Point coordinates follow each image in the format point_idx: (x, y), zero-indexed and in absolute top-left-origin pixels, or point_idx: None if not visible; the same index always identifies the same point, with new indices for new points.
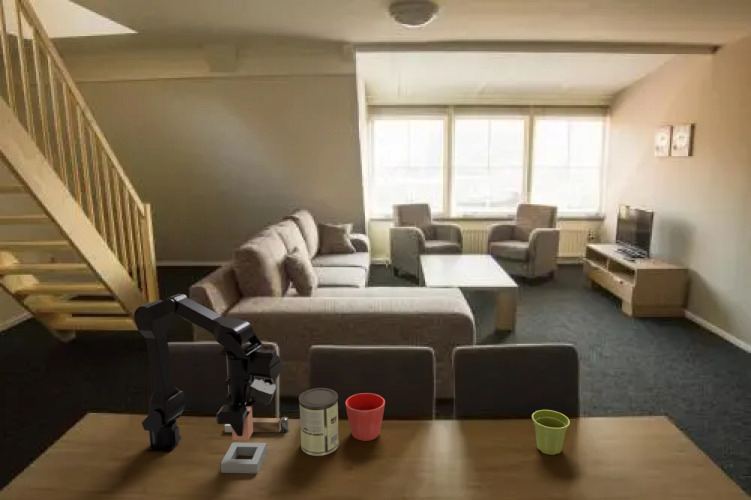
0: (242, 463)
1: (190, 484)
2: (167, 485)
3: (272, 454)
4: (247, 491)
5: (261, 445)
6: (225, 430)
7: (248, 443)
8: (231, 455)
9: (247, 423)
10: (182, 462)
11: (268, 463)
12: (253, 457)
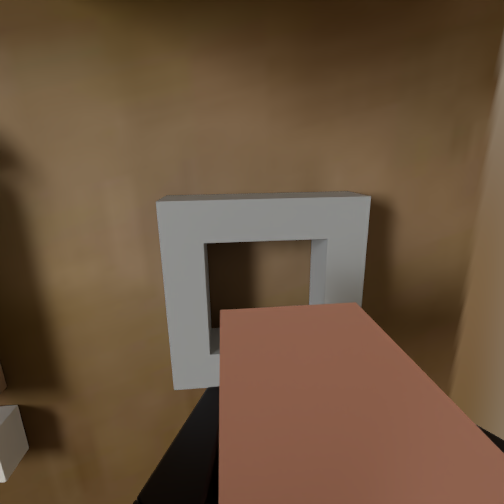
0: (360, 276)
1: None
2: None
3: (187, 156)
4: (468, 199)
5: (185, 225)
6: (23, 453)
7: (173, 306)
8: None
9: (469, 424)
10: None
11: (268, 157)
12: (308, 235)
